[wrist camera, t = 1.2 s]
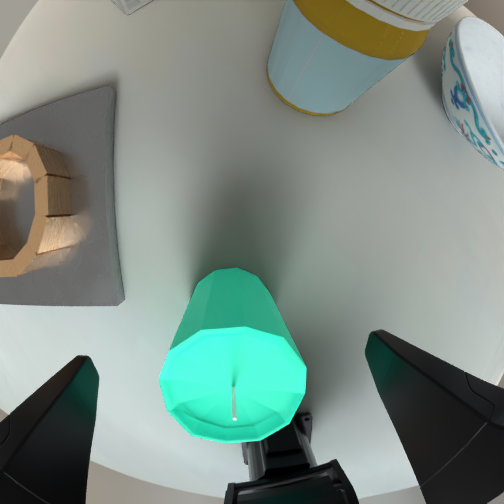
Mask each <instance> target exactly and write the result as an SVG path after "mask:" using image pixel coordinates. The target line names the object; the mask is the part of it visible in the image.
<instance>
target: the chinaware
mask: <svg viewBox="0 0 504 504" xmlns="http://www.w3.org/2000/svg"><path fill="white" fill-rule="evenodd" d="M441 76H442V85H443V88H442V100H443V105H444V108H445V111H446V113H447V116H448V118H449V120H450V121H451V123H452V125H453V126H454V128H455V129H456V130H457V131H458V132H459V133H460V134H461V135H462V136H463V137H464V138H466V139H467V140H468V141H469V142H470V143H471V144H472V146H473V147H474V148H475V149H476V150H477V151H478V152H479V153H480V154H482V155H483V156H484V157H485V158H486V159H488V160H489V161H490V162H492V163H493V164H495V165H496V166H498V167H500V168H502V169H504V36H503V35H502V34H500V33H499V32H498V31H497V30H496V29H495V28H493V27H492V26H491V25H489V24H488V23H486V22H485V21H483V20H481V19H479V18H476V17H464V18H463V19H461V20H460V21H459V22H458V23H457V25H456V26H455V27H454V29H453V30H452V32H451V34H450V35H449V37H448V39H447V42H446V44H445V47H444V51H443V55H442V63H441Z"/></svg>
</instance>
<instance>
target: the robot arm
mask: <svg viewBox="0 0 504 504" xmlns="http://www.w3.org/2000/svg"><path fill="white" fill-rule="evenodd" d="M365 356H366V359H367V362H368V365H369V367H370V370H371V373H372V376H373V379H374V382H375V384H376V387H377V390H378V393H379V395H380V397H381V399H382V401H383V404H384V406H385V408H386V410H387V412H388V414H389V416H390V419H391V421H392V423H393V425H394V427H395V429H396V432H397V434H398V436H399V438H400V441H401V443H402V445H403V447H404V450H405V452H406V454H407V457H408V459H409V461H410V464H411V466H412V469H413V471H414V473H415V476H416V478H417V481H418V483H419V486H420V489H421V491H422V494H423V496H424V499H425V501H426V504H504V389H503V388H501V387H498V386H495V385H493V384H491V383H488V382H486V381H484V380H481V379H479V378H477V377H475V376H473V375H471V374H469V373H467V372H464V371H463V370H461V369H459V368H457V367H455V366H453V365H451V364H449V363H447V362H445V361H443V360H441V359H439V358H437V357H435V356H434V355H432V354H430V353H428V352H426V351H424V350H422V349H420V348H418V347H416V346H414V345H412V344H410V343H408V342H406V341H404V340H402V339H400V338H398V337H396V336H394V335H392V334H391V333H389V332H387V331H385V330H382V329H380V330H375V331H372V332H371V333H370V334H369V338H368V341H367V345H366V348H365ZM98 387H99V374H98V372H97V370H96V368H95V366H94V364H93V362H92V360H91V358H90V357H89V356H84V355H78V356H76V357H75V358H74V359H73V360H71V361H70V362H69V363H68V364H67V365H66V366H64V367H63V368H62V369H61V370H60V371H58V372H57V373H56V374H55V375H54V376H53V377H51V378H50V379H49V380H48V381H47V382H46V383H44V384H43V385H42V386H41V387H40V388H39V389H37V390H36V391H35V392H34V393H33V394H32V395H31V396H29V397H28V398H27V399H26V400H25V401H24V402H23V403H21V404H20V405H19V406H18V407H17V408H16V409H15V410H14V411H12V412H11V413H10V415H8V416H7V417H6V418H5V419H3V420H2V421H1V422H0V504H86V503H85V502H86V489H87V478H88V468H89V460H90V453H91V446H92V439H93V433H94V427H95V421H96V410H97V398H98ZM306 417H308V418H306ZM312 419H313V418H312V415H311V413H301V414H294V416H293V418H292V420H291V422H290V424H288V425H286V426H285V427H283V428H281V429H280V430H278V431H276V432H275V433H273V434H271V435H269V436H268V437H266V438H264V439H262V440H260V441H251V442H242V449H243V457H244V463H245V464H246V465H248V467H249V477H250V481H249V482H242V483H228V488H227V491H226V494H225V500H224V504H359V502H358V498H357V496H356V493H355V491H354V488H353V486H352V485H351V483H350V481H349V479H348V478H347V476H346V474H345V473H344V471H343V469H342V468H341V466H340V464H339V463H338V461H337V459H334V460H331V461H330V462H328V463H325V464H322V465H318V466H317V463H316V460H315V457H314V454H313V452H312V449H311V446H310V441H311V431H312Z"/></svg>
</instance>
